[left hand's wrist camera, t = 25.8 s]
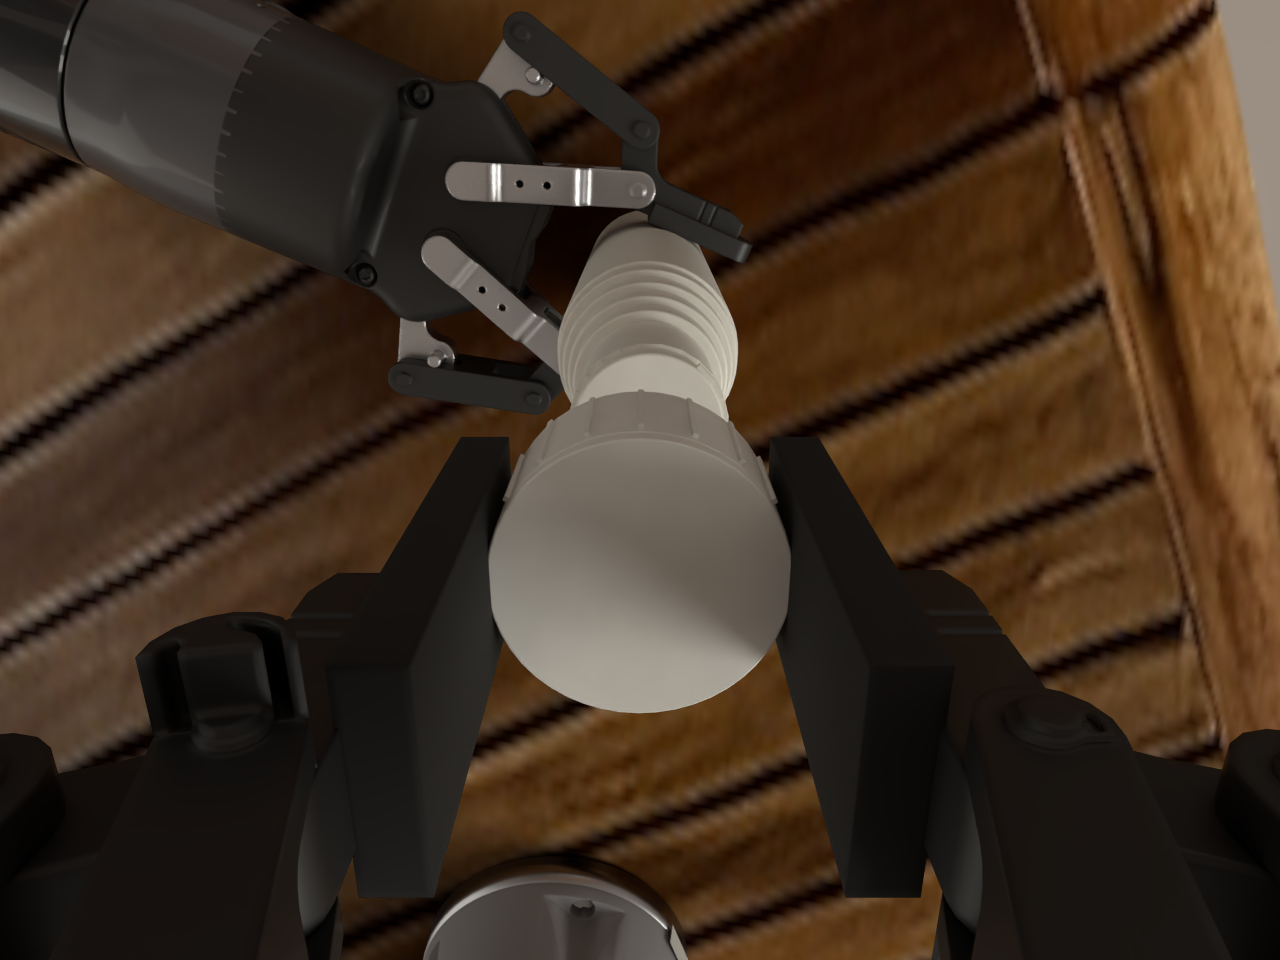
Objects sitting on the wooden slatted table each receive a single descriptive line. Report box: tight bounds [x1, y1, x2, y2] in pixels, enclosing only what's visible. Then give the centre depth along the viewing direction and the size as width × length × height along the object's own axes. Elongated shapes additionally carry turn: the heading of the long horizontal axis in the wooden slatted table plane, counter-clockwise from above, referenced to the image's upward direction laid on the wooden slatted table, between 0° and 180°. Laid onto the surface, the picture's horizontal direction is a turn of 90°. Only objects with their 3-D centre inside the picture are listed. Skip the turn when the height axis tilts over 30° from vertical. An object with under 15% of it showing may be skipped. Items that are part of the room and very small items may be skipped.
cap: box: [488, 389, 791, 713], centre depth 13 cm, size 4×4×2 cm
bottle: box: [557, 211, 738, 422], centre depth 28 cm, size 5×5×22 cm
